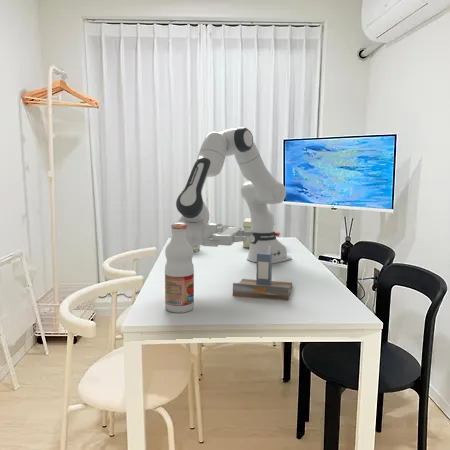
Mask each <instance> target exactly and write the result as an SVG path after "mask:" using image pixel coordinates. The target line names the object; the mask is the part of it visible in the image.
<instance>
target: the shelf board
mask: <svg viewBox="0 0 450 450" xmlns="http://www.w3.org/2000/svg"><path fill="white" fill-rule="evenodd" d="M292 287H293V282H291V281H280V280H271V286H270V285H256V279H249V278H241V280H240V281H239V282H233V283H232V297H233V296H234V297H245V298H258V299H269V300H279V299H280V301H281V300H282V301H289V299H290V296H291V292H292V289H293V288H292Z"/></svg>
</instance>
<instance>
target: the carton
mask: <svg viewBox="0 0 450 450" xmlns="http://www.w3.org/2000/svg"><path fill="white" fill-rule="evenodd" d="M272 268H273V263H272V252H263V251H259V252H258V253H257V262H256V277H255V280H256V285H270V286H271V281H272V275H273V274H272V273H273V272H272Z"/></svg>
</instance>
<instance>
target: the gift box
mask: <svg viewBox="0 0 450 450" xmlns="http://www.w3.org/2000/svg"><path fill="white" fill-rule="evenodd" d="M242 227H243V231H248V232H250V231H251V217H250V218H244V220H243V224H242ZM242 243H243V244H242V248H249V249H250V237H247V241H246V242H243V241H242Z"/></svg>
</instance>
